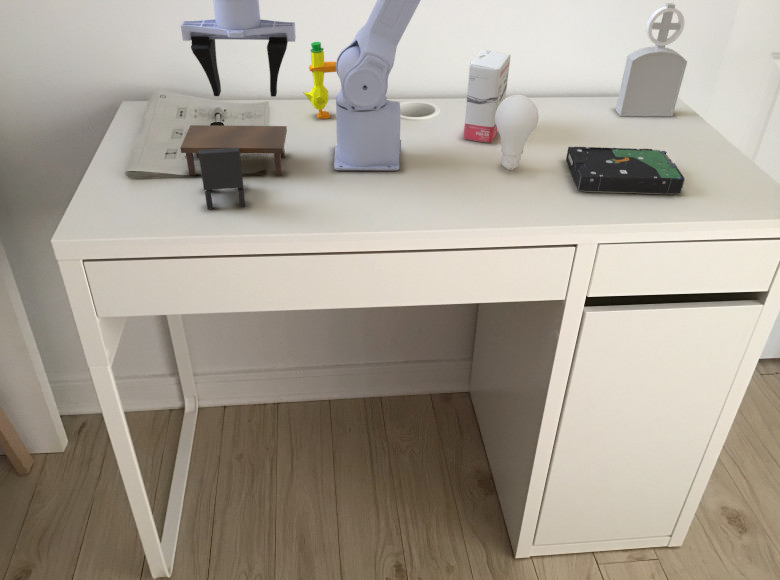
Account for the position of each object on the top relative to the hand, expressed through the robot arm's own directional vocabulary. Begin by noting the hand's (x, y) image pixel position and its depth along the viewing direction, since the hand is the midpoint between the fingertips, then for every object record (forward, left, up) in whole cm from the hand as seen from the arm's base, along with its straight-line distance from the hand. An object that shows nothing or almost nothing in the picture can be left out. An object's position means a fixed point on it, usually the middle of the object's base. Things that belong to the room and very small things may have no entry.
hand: (245, 93), depth 99 cm
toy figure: (-10, -19, -11) cm, 24 cm away
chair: (+3, +10, -10) cm, 15 cm away
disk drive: (-54, +4, -11) cm, 55 cm away
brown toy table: (+2, 0, -10) cm, 11 cm away
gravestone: (-66, -22, -11) cm, 70 cm away
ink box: (-36, -13, -11) cm, 40 cm away
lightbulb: (-38, +1, -11) cm, 39 cm away
